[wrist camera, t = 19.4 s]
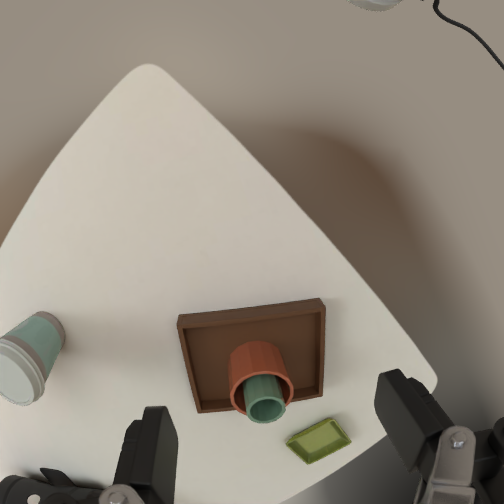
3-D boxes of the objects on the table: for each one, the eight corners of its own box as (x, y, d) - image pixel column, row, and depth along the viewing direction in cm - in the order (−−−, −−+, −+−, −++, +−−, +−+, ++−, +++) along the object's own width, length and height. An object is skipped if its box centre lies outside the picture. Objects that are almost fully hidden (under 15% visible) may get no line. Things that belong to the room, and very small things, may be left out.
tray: (319, 297, 39) (325, 306, 36) (317, 385, 43) (322, 396, 40) (178, 314, 38) (176, 324, 35) (198, 401, 42) (197, 413, 39)
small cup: (271, 348, 39) (284, 393, 31) (273, 374, 41) (285, 420, 32) (238, 352, 39) (244, 399, 31) (241, 378, 40) (248, 425, 32)
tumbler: (281, 334, 40) (293, 366, 33) (283, 378, 42) (293, 412, 35) (224, 342, 39) (226, 375, 33) (231, 385, 41) (234, 420, 35)
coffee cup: (40, 289, 35) (-8, 333, 23) (85, 336, 37) (50, 392, 26) (14, 324, 36) (-29, 368, 24) (55, 365, 38) (22, 418, 26)
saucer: (330, 410, 45) (334, 419, 43) (348, 434, 47) (352, 442, 45) (282, 435, 45) (284, 444, 43) (305, 457, 48) (307, 465, 46)
